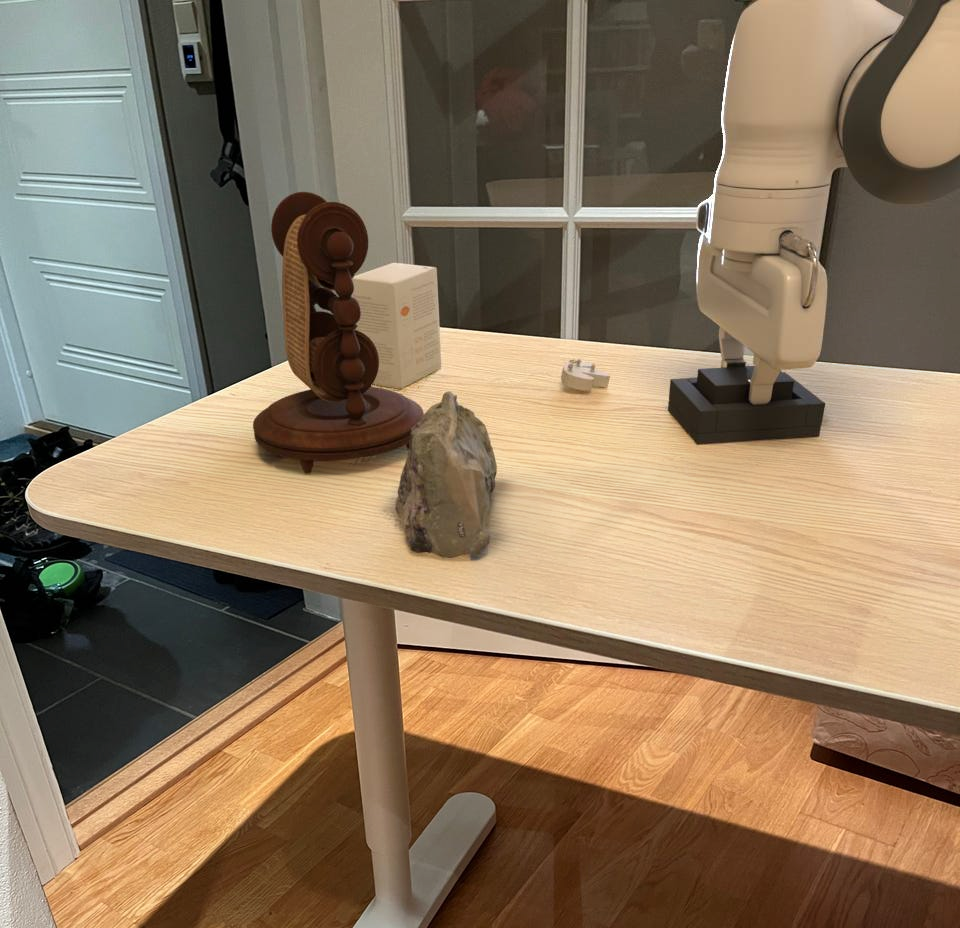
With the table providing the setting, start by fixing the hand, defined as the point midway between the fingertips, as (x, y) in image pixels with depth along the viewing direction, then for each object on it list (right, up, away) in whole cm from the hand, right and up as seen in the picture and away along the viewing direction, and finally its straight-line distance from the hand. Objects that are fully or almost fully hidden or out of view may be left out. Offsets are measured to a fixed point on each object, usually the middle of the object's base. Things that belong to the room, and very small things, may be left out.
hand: (743, 390), depth 83 cm
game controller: (-16, +4, +12) cm, 21 cm away
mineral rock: (-25, -14, -14) cm, 31 cm away
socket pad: (0, -3, +2) cm, 3 cm away
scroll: (-36, -5, 0) cm, 36 cm away
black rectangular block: (0, -1, +1) cm, 2 cm away
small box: (-32, +6, +16) cm, 36 cm away
